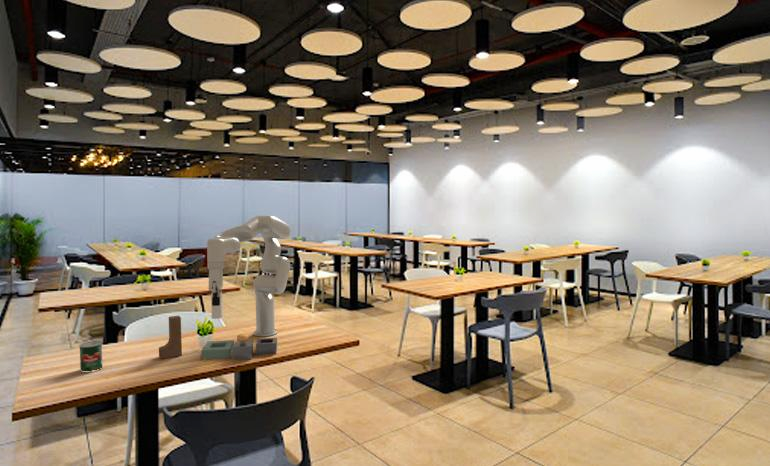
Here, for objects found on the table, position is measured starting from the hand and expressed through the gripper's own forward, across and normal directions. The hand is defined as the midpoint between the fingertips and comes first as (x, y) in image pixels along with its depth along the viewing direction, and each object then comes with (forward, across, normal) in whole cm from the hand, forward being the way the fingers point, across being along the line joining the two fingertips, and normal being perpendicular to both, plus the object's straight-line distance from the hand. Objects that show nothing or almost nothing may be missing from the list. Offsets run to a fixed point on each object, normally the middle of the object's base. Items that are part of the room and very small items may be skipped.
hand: (216, 304), depth 212 cm
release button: (+22, +7, +12) cm, 26 cm away
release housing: (+23, +7, +12) cm, 27 cm away
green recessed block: (+23, 0, 0) cm, 23 cm away
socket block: (+23, +1, +22) cm, 32 cm away
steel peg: (+6, 0, 0) cm, 6 cm away
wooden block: (+24, 0, -21) cm, 31 cm away
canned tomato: (+24, +12, -49) cm, 56 cm away
